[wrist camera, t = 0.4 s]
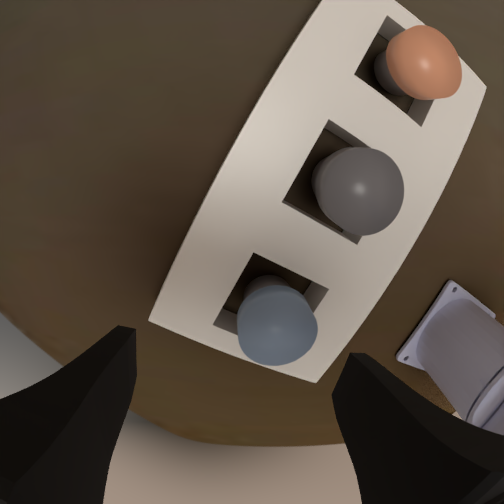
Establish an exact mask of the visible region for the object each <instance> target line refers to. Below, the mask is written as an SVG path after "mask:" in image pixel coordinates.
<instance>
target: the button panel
mask: <svg viewBox="0 0 504 504" xmlns="http://www.w3.org/2000/svg"><path fill="white" fill-rule="evenodd" d="M416 25H425V24H424V23H422V22H421V21H420V20H419V19H418V18H416V17H415V16H414V15H413V14H411V13H410V12H409V11H408V10H406V9H405V8H404V7H403V6H401V5H400V4H399V3H397V2H396V1H395V0H321V1H320V3H319V4H318V6H317V7H316V8H315V10H314V11H313V13H312V14H311V16H310V17H309V19H308V20H307V22H306V23H305V25H304V26H303V28H302V29H301V31H300V33H299V34H298V36H297V37H296V39H295V40H294V42H293V43H292V45H291V47H290V48H289V50H288V51H287V53H286V54H285V56H284V58H283V59H282V61H281V62H280V64H279V66H278V67H277V69H276V71H275V72H274V74H273V75H272V77H271V79H270V80H269V82H268V84H267V85H266V87H265V89H264V90H263V92H262V94H261V96H260V97H259V99H258V101H257V102H256V104H255V106H254V108H253V109H252V111H251V113H250V115H249V116H248V118H247V120H246V122H245V123H244V125H243V127H242V129H241V130H240V132H239V134H238V136H237V138H236V139H235V141H234V143H233V145H232V147H231V149H230V150H229V152H228V154H227V156H226V158H225V160H224V161H223V163H222V165H221V167H220V169H219V171H218V173H217V175H216V177H215V178H214V180H213V182H212V184H211V186H210V188H209V190H208V192H207V194H206V196H205V198H204V200H203V202H202V204H201V206H200V208H199V210H198V212H197V214H196V216H195V218H194V220H193V222H192V224H191V226H190V228H189V230H188V232H187V234H186V236H185V238H184V240H183V242H182V244H181V247H180V249H179V251H178V253H177V255H176V257H175V259H174V261H173V264H172V266H171V268H170V270H169V272H168V274H167V277H166V279H165V281H164V283H163V285H162V288H161V290H160V292H159V294H158V297H157V299H156V301H155V304H154V306H153V309H152V312H151V314H150V317H149V319H148V321H151V322H153V323H155V324H157V325H159V326H162V327H164V328H166V329H169V330H171V331H173V332H176V333H178V334H180V335H183V336H185V337H187V338H190V339H192V340H195V341H197V342H200V343H202V344H205V345H207V346H210V347H212V348H215V349H217V350H220V351H223V352H225V353H228V354H230V355H233V356H236V357H239V358H241V359H244V360H247V361H250V362H252V363H255V364H258V365H261V366H264V367H267V368H270V369H273V370H276V371H279V372H282V373H285V374H288V375H291V376H294V377H297V378H300V379H304V380H307V381H310V382H314V383H316V382H317V381H318V380H319V379H320V378H321V376H322V375H323V374H324V373H325V371H326V370H327V369H328V368H329V366H330V365H331V364H332V363H333V361H334V360H335V359H336V358H337V356H338V355H339V354H340V352H341V351H342V350H343V349H344V347H345V346H346V345H347V343H348V342H349V341H350V339H351V338H352V337H353V335H354V334H355V333H356V331H357V330H358V328H359V327H360V326H361V324H362V323H363V322H364V320H365V319H366V317H367V316H368V314H369V313H370V312H371V310H372V309H373V307H374V306H375V304H376V303H377V301H378V300H379V298H380V297H381V296H382V294H383V293H384V291H385V289H386V288H387V286H388V285H389V283H390V282H391V280H392V279H393V277H394V276H395V274H396V272H397V271H398V269H399V268H400V266H401V264H402V263H403V261H404V260H405V258H406V256H407V255H408V253H409V251H410V250H411V248H412V246H413V245H414V243H415V241H416V239H417V238H418V236H419V234H420V232H421V231H422V229H423V227H424V225H425V224H426V222H427V220H428V218H429V216H430V214H431V213H432V211H433V209H434V207H435V205H436V203H437V201H438V199H439V197H440V195H441V193H442V191H443V190H444V188H445V185H446V183H447V181H448V179H449V177H450V175H451V173H452V171H453V169H454V167H455V165H456V163H457V160H458V158H459V156H460V154H461V151H462V149H463V147H464V145H465V142H466V140H467V138H468V135H469V133H470V130H471V128H472V125H473V123H474V120H475V118H476V115H477V113H478V110H479V107H480V105H481V102H482V99H483V96H484V94H485V91H486V88H487V87H486V86H485V85H484V83H483V82H482V81H481V80H480V79H479V78H478V76H477V75H476V74H475V73H474V72H473V71H472V70H471V69H470V68H469V67H468V65H467V64H466V63H465V62H464V61H463V60H462V59H461V58H460V57H459V56H458V57H459V59H460V63H461V68H462V80H461V84H460V87H459V89H458V90H457V92H456V93H455V94H454V95H452V96H450V97H447V98H441V99H432V100H419V99H415V98H414V100H413V103H412V105H411V107H410V109H409V111H408V113H407V115H406V114H405V113H404V112H403V111H402V110H400V109H399V108H398V107H397V106H395V105H394V104H393V103H392V102H390V101H389V100H388V99H387V98H385V97H384V96H383V95H381V94H380V93H379V92H377V91H376V90H375V89H373V88H372V87H371V86H369V85H368V84H366V83H365V82H364V81H362V80H361V79H359V78H358V77H357V76H355V75H354V73H355V71H356V70H357V68H358V66H359V64H360V62H361V61H362V59H363V57H364V55H365V53H366V52H367V50H368V48H369V46H370V45H371V43H372V41H373V39H374V37H375V36H376V34H377V33H379V34H380V35H381V36H383V37H384V38H385V39H387V40H388V41H389V42H390V40H391V39H392V38H393V37H394V36H395V35H397V34H399V33H401V32H403V31H405V30H407V29H409V28H411V27H413V26H416ZM323 128H326V129H327V130H329V131H330V132H332V133H333V134H335V135H337V136H338V137H340V138H341V139H343V140H344V141H346V142H347V143H349V144H350V145H352V146H353V147H362V148H372V149H376V150H379V151H381V152H384V153H385V154H387V155H388V156H389V157H390V158H391V159H392V160H393V161H394V162H395V163H396V165H397V166H398V168H399V170H400V172H401V174H402V177H403V182H404V199H403V203H402V206H401V209H400V211H399V213H398V215H397V216H396V218H395V219H394V221H393V222H392V223H391V224H390V225H389V226H388V227H386V228H385V229H384V230H382V231H380V232H378V233H375V234H372V235H366V236H360V235H354V234H351V233H349V232H347V231H345V230H343V232H342V233H341V232H340V231H338V230H336V229H335V228H333V227H331V226H329V225H328V224H326V223H324V222H322V221H321V220H319V219H317V218H315V217H314V216H312V215H310V214H308V213H307V212H305V211H303V210H301V209H299V208H298V207H296V206H294V205H292V204H290V203H289V202H287V201H285V200H283V199H284V197H285V196H286V194H287V192H288V190H289V188H290V187H291V185H292V183H293V181H294V180H295V178H296V176H297V174H298V173H299V171H300V169H301V167H302V165H303V164H304V162H305V160H306V158H307V157H308V155H309V153H310V151H311V149H312V148H313V146H314V144H315V142H316V141H317V139H318V137H319V135H320V133H321V132H322V130H323ZM253 252H254V253H256V254H258V255H260V256H262V257H264V258H266V259H268V260H270V261H273V262H275V263H277V264H279V265H281V266H283V267H285V268H287V269H289V270H291V271H293V272H295V273H297V274H299V275H301V276H303V277H305V278H307V279H310V280H312V282H311V284H310V285H309V287H308V288H307V290H306V292H305V293H304V295H303V296H304V297H305V299H306V300H307V302H308V304H309V306H310V308H311V310H312V312H313V314H314V316H315V318H316V321H317V325H318V333H317V337H316V340H315V342H314V344H313V346H312V347H311V349H310V350H309V351H308V352H307V353H306V354H305V355H303V356H302V357H301V358H299V359H298V360H296V361H294V362H291V363H288V364H285V365H279V366H268V365H262V364H259V363H257V362H254V361H253V360H251V359H250V358H248V357H247V356H246V355H245V354H244V352H243V351H242V349H241V347H240V345H239V341H238V330H237V314H234V313H232V312H230V311H227V310H225V309H223V308H222V307H223V305H224V303H225V302H226V300H227V298H228V296H229V295H230V293H231V291H232V289H233V288H234V286H235V284H236V282H237V280H238V279H239V277H240V275H241V273H242V272H243V270H244V268H245V266H246V265H247V263H248V261H249V259H250V257H251V256H252V254H253Z"/></svg>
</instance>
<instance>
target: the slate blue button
mask: <svg viewBox="0 0 504 504" xmlns="http://www.w3.org/2000/svg"><path fill="white" fill-rule="evenodd" d="M237 330H238V341H239V345H240V347H241V349H242V351H243V352H244V354H245V355H246V356H247V357H248V358H250V359H251V360H253V361H254V362H257V363H259V364H262V365H268V366H279V365H285V364H288V363H291V362H294V361H296V360H298V359H299V358H301V357H302V356H303V355H305V354H306V353H307V352H308V351H309V350H310V349H311V347H312V346H313V344H314V342H315V340H316V337H317V333H318V325H317V321H316V318H315V316H314V314H313V312H312V310H311V308H310V306H309V304H308V302H307V300H306V299H305V297H304V296H303V295H302V294H301V293H299V292H298V291H297V290H295V289H293V288H291V287H290V285H289V284H288V283H287V282H286V280H284V279H283V278H281V277H279V276H275V275H263V276H260V277H258V278H256V279H254V280H253V281H251V282H250V283H249V284H248V286H247V287H246V289H245V291H244V295H243V302H242V304H241V306H240V308H239V310H238V313H237Z"/></svg>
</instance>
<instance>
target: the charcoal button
mask: <svg viewBox="0 0 504 504" xmlns="http://www.w3.org/2000/svg"><path fill="white" fill-rule="evenodd" d="M311 183H312V189H313V192H314V194H315V195H316V198H317V201H318V204H319V206H320V208H321V210H322V211H323V213H324V214H325V215H326V216H327V217H328V218H329V219H330V220H332V221H333V222H334V223H336V224H337V225H338V226H339V227H341V228H342V229H344V230H345V231H347V232H349V233H351V234H354V235H360V236H366V235H372V234H375V233H378V232H380V231H382V230H384V229H385V228H386V227H388V226H389V225H390V224H391V223H392V222H393V221H394V219H395V218H396V216H397V215H398V213H399V211H400V209H401V206H402V203H403V199H404V182H403V177H402V174H401V172H400V170H399V168H398V166H397V165H396V163H395V162H394V161H393V160H392V159H391V158H390V157H389V156H388V155H387V154H385V153H384V152H381V151H379V150H376V149H372V148H362V147H347V148H343V149H340V150H338V151H336V152H334V153H333V154H331V155H330V156H328V157H326V158H324V159H322V160H321V161H320V162H319V163H318V164H317V165H316V167H315V169H314V171H313V174H312V180H311Z"/></svg>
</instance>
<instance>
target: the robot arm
mask: <svg viewBox="0 0 504 504" xmlns="http://www.w3.org/2000/svg"><path fill="white" fill-rule="evenodd" d="M453 288H454V289H453ZM396 359H397V360H398V361H399V362H402V363H405V364H408V365H410V366H413V367H416V368H419V369H422V370H424V371H426V372H427V373H428V374H429V375H430V377H431V378H432V379H433V381H434V382H435V383H436V384H437V386H438V387H439V388H440V390H441V391H442V392H443V394H444V395H445V396H446V398H447V399H448V400H449V402H450V403H451V404H452V406H453V407H454V408H455V410H456V411H457V412H458V414H459V415H460V417H461V418H462V419H463V420H461V419H459V418H457V417H455V416H453V415H452V414H450V413H448V412H446V411H444V410H443V409H441V408H439V407H438V406H436V405H434V404H433V403H431V402H430V401H428V400H427V399H426V398H424V397H423V396H421V395H420V394H418V393H417V392H416V391H414V390H413V389H411V388H410V387H409V386H408V385H406V384H405V383H404V382H402V381H401V380H400V379H399V378H397V377H396V376H395V375H393V374H392V373H391V372H390V371H388V370H387V369H386V368H385V367H383V366H382V365H381V364H379V363H378V362H377V361H376V360H374V359H373V358H371V357H370V356H368V355H367V354H365V353H350V354H349V357H348V359H347V361H346V364H345V366H344V368H343V371H342V373H341V375H340V377H339V380H338V382H337V384H336V386H335V388H334V391H333V393H332V399H333V405H334V410H335V414H336V419H337V422H338V424H339V427H340V430H341V433H342V436H343V438H344V441H345V444H346V446H347V449H348V452H349V455H350V457H351V460H352V463H353V466H354V469H355V472H356V475H357V480H358V485H359V489H360V494H361V500H362V504H504V326H502V325H501V324H500V323H499V322H498V321H496V320H495V314H494V313H493V312H492V311H491V310H489V309H488V308H487V307H486V306H485V305H483V304H482V303H481V302H480V301H478V300H477V299H476V298H475V297H473V296H472V295H471V294H470V293H468V292H467V291H466V290H464V289H463V288H462V287H461V286H459V285H458V284H457V283H455V282H454V281H453V280H449V281H448V282H447V283H446V285H445V286H444V288H443V289H442V291H441V292H440V294H439V296H438V297H437V299H436V300H435V302H434V303H433V305H432V306H431V308H430V309H429V311H428V312H427V314H426V315H425V316H424V318H423V319H422V321H421V322H420V324H419V325H418V326H417V328H416V329H415V331H414V332H413V333H412V335H411V336H410V337H409V339H408V340H407V341H406V343H405V344H404V345H403V347H402V348H401V349H400V351H399V352H398V353H397V355H396ZM136 377H137V367H136V329H134V328H129V327H123V326H119V325H118V326H117V327H115V328H114V329H113V330H111V331H110V332H109V333H108V334H106V335H105V336H104V337H103V338H101V339H100V340H99V341H98V342H96V343H95V344H94V345H93V346H91V347H90V348H89V349H88V350H86V351H85V352H84V353H82V354H81V355H80V356H78V357H77V358H76V359H74V360H73V361H71V362H70V363H68V364H67V365H66V366H64V367H63V368H61V369H60V370H58V371H57V372H55V373H54V374H52V375H50V376H49V377H47V378H45V379H43V380H42V381H40V382H38V383H36V384H34V385H32V386H30V387H28V388H26V389H23V390H21V391H19V392H17V393H14V394H12V395H9V396H7V397H4V398H2V399H0V504H103V499H104V492H105V486H106V481H107V475H108V469H109V465H110V461H111V457H112V454H113V450H114V448H115V445H116V441H117V439H118V436H119V433H120V430H121V428H122V425H123V422H124V419H125V417H126V414H127V411H128V408H129V405H130V403H131V399H132V395H133V391H134V386H135V382H136Z"/></svg>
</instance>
